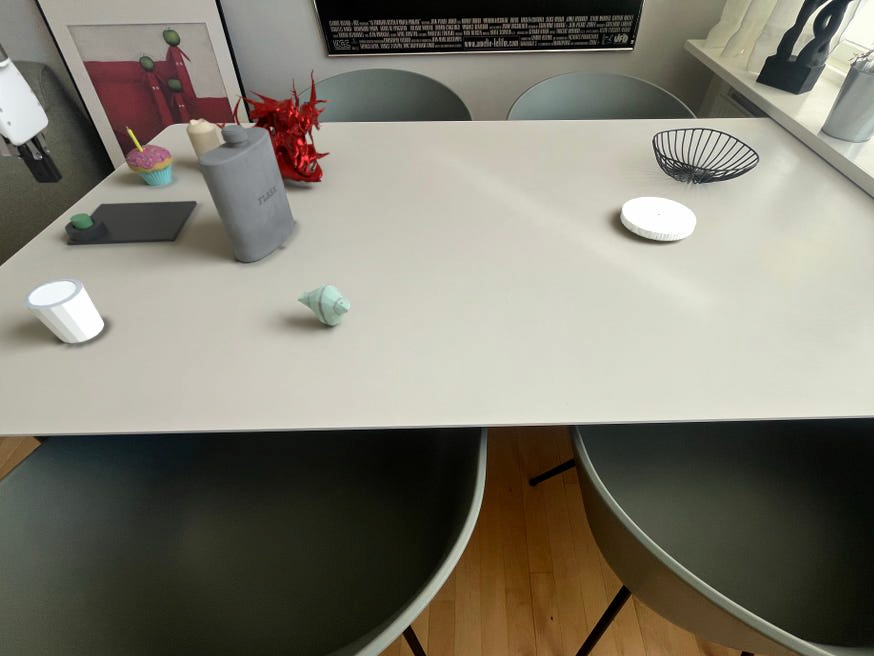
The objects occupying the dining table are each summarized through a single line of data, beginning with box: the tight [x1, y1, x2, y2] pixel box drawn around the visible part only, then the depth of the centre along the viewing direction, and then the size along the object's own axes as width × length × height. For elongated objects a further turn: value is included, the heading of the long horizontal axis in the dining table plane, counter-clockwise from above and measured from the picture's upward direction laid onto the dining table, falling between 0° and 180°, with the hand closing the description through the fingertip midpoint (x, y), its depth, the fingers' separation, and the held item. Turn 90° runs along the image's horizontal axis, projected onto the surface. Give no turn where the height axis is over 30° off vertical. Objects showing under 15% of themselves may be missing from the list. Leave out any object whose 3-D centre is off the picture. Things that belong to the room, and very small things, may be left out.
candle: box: [185, 117, 222, 159], centre depth 105 cm, size 6×6×10 cm
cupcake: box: [125, 126, 174, 186], centre depth 99 cm, size 9×8×12 cm
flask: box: [196, 124, 296, 263], centre depth 81 cm, size 15×6×20 cm, turn 165°
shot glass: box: [23, 277, 105, 344], centre depth 68 cm, size 7×7×7 cm
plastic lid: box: [620, 196, 697, 242], centre depth 94 cm, size 14×14×2 cm
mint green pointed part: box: [296, 284, 351, 326], centre depth 71 cm, size 8×4×7 cm, turn 75°
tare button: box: [69, 212, 93, 229], centre depth 86 cm, size 3×3×2 cm
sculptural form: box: [212, 68, 331, 183], centre depth 104 cm, size 20×25×22 cm
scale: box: [64, 200, 198, 246], centre depth 91 cm, size 18×14×2 cm
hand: (50, 180), depth 80 cm, fingers closed
